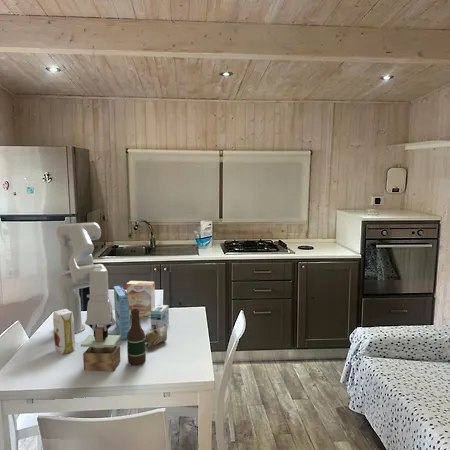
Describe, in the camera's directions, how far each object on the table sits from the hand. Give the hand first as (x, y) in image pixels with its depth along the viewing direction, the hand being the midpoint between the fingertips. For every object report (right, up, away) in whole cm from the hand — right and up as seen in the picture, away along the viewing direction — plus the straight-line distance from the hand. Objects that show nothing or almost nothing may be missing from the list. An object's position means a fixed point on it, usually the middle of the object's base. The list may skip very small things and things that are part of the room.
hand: (101, 338), depth 175 cm
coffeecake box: (+4, -4, +66) cm, 66 cm away
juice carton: (-22, -11, +17) cm, 30 cm away
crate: (0, -12, +1) cm, 13 cm away
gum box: (0, -8, +38) cm, 39 cm away
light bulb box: (+18, -7, +46) cm, 50 cm away
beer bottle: (+14, -12, +5) cm, 19 cm away
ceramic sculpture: (+19, -10, +24) cm, 32 cm away
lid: (0, -3, 0) cm, 3 cm away
